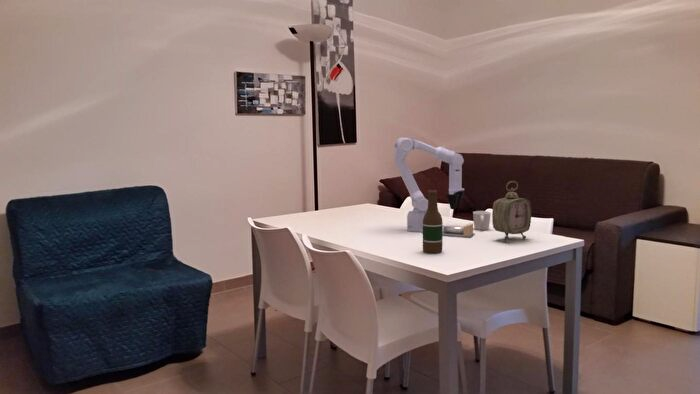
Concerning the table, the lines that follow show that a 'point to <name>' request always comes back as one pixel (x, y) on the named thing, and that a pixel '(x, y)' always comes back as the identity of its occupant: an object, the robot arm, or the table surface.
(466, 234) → the board
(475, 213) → the cup
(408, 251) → the table surface
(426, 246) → the beer bottle
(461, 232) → the tube
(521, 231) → the tabletop clock
